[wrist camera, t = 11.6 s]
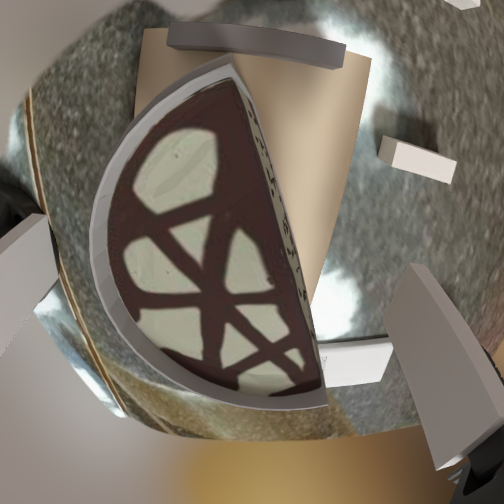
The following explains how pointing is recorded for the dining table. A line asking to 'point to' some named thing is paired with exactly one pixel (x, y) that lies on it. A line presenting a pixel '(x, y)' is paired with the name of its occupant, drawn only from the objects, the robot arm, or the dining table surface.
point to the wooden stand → (279, 111)
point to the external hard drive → (354, 361)
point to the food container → (205, 249)
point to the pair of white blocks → (416, 156)
